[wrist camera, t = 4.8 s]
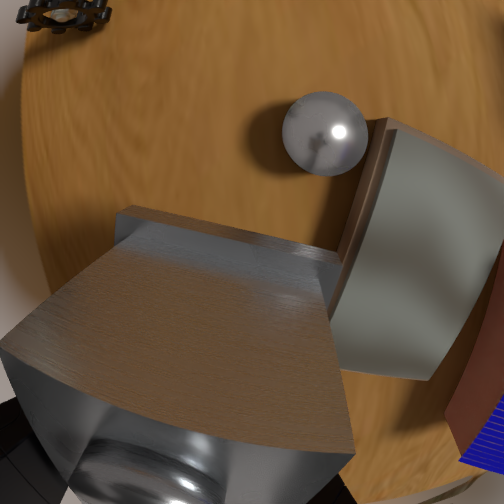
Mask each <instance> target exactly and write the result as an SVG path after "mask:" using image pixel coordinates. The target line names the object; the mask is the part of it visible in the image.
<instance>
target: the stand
mask: <svg viewBox="0 0 504 504" xmlns="http://www.w3.org/2000/svg"><path fill="white" fill-rule="evenodd" d="M503 239H504V177H502V176H501V175H499V174H498V173H496V172H495V171H493V170H491V169H490V168H488V167H487V166H485V165H483V164H482V163H480V162H478V161H476V160H475V159H473V158H471V157H469V156H468V155H466V154H464V153H462V152H461V151H459V150H457V149H455V148H453V147H451V146H449V145H447V144H445V143H443V142H442V141H440V140H438V139H436V138H434V137H431V136H429V135H427V134H425V133H423V132H421V131H419V130H417V129H414V128H412V127H410V126H408V125H405V124H403V123H401V122H399V121H396V120H394V119H391V118H389V117H387V118H381V119H377V121H376V125H375V128H374V132H373V136H372V140H371V143H370V147H369V151H368V154H367V158H366V161H365V165H364V168H363V171H362V175H361V178H360V181H359V185H358V188H357V191H356V194H355V198H354V201H353V204H352V207H351V210H350V213H349V216H348V219H347V222H346V225H345V228H344V231H343V234H342V237H341V240H340V243H339V246H338V248H337V251H336V252H337V254H338V256H339V258H340V261H341V263H342V265H343V268H342V271H341V274H340V277H339V279H338V282H337V285H336V288H335V290H334V293H333V296H332V298H331V301H330V304H329V306H328V309H327V315H328V319H329V323H330V327H331V331H332V336H333V340H334V345H335V349H336V353H337V358H338V363H339V367H340V370H344V371H351V372H357V373H364V374H371V375H379V376H386V377H395V378H404V379H413V380H424V381H428V380H429V379H430V378H431V376H432V375H433V373H434V372H435V370H436V369H437V368H438V366H439V365H440V363H441V361H442V360H443V358H444V357H445V355H446V354H447V352H448V351H449V349H450V347H451V346H452V344H453V342H454V341H455V339H456V337H457V336H458V334H459V332H460V331H461V329H462V327H463V325H464V324H465V322H466V320H467V318H468V316H469V314H470V313H471V311H472V309H473V307H474V305H475V303H476V301H477V299H478V297H479V295H480V293H481V291H482V289H483V287H484V285H485V283H486V280H487V278H488V276H489V274H490V271H491V269H492V267H493V264H494V262H495V260H496V257H497V255H498V252H499V250H500V247H501V245H502V242H503Z"/></svg>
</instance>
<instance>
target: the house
mask: <svg viewBox="0 0 504 504" xmlns="http://www.w3.org/2000/svg"><path fill="white" fill-rule="evenodd" d="M444 415H445V418H446V420H447V422H448V425H449V427H450V429H451V432H452V434H453V436H454V439H455V441H456V444H457V446H458V449H459V451H460V454H461V458H460V459H459V461H460V462H463V463H466V464H469V465H472V466H475V467H478V468H482V469H485V470H489V471H493V472H496V473H499V474H503V475H504V240H503V245H502V251H501V256H500V260H499V265H498V270H497V274H496V278H495V282H494V286H493V290H492V293H491V297H490V301H489V304H488V307H487V311H486V314H485V317H484V320H483V323H482V326H481V329H480V332H479V335H478V337H477V340H476V343H475V346H474V348H473V351H472V353H471V356H470V358H469V361H468V363H467V366H466V368H465V370H464V373H463V375H462V377H461V379H460V381H459V384H458V386H457V388H456V390H455V392H454V394H453V396H452V398H451V400H450V402H449V404H448V406H447V408H446V410H445V412H444Z"/></svg>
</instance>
